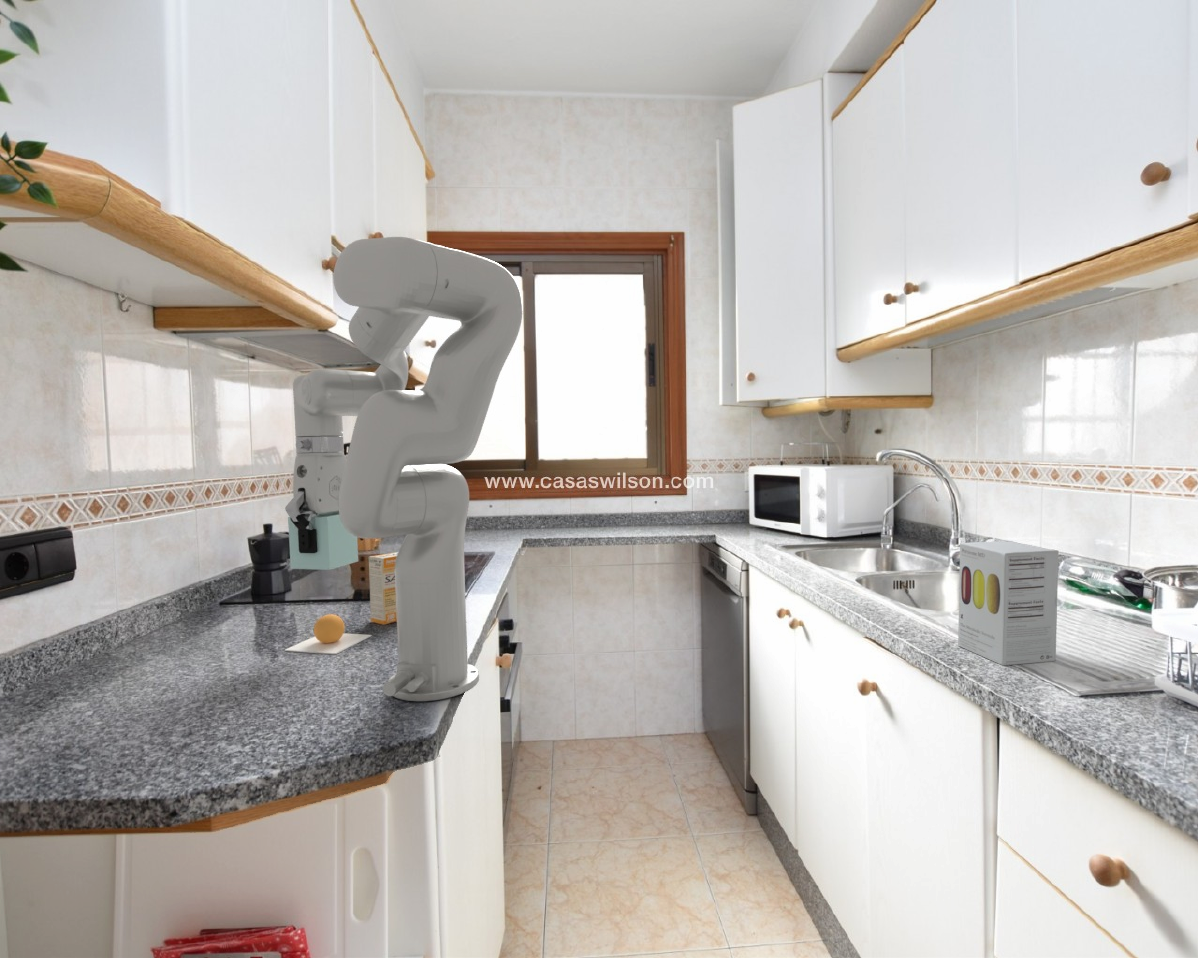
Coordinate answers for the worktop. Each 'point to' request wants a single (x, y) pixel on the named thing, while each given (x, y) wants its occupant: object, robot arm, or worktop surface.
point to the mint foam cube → (324, 545)
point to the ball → (329, 628)
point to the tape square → (331, 648)
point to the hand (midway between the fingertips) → (325, 548)
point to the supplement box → (382, 588)
